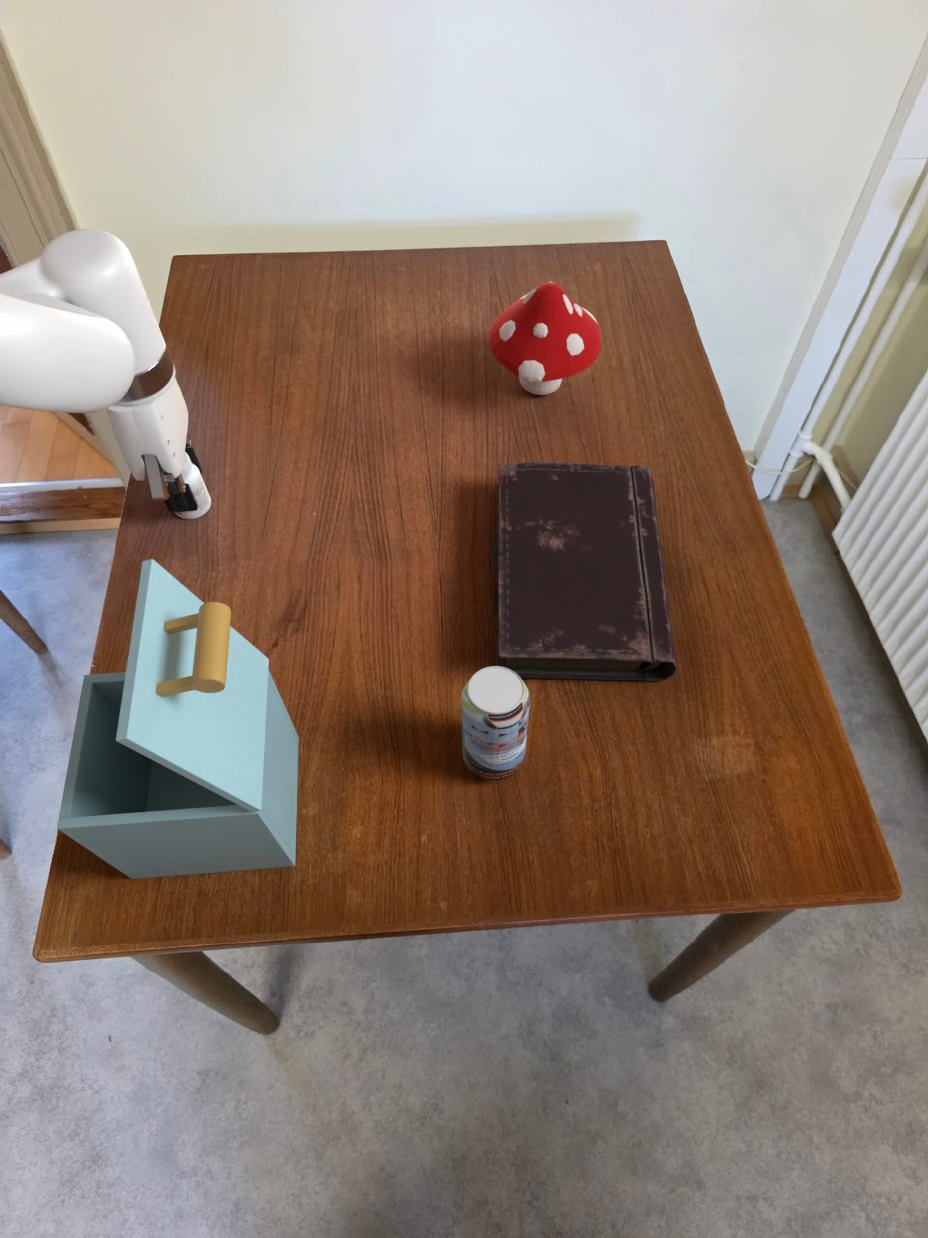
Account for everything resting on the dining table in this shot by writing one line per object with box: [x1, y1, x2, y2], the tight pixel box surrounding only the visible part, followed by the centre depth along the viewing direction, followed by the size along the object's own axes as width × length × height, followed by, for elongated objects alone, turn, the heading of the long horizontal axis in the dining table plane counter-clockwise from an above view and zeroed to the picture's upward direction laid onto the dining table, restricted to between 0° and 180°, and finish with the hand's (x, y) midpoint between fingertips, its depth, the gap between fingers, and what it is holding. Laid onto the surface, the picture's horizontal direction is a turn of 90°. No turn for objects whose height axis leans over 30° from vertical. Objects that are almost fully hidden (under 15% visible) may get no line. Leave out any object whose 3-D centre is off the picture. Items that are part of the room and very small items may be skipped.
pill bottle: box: [164, 452, 212, 520], centre depth 91 cm, size 4×4×8 cm
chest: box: [56, 668, 300, 880], centre depth 69 cm, size 15×13×16 cm
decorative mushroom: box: [487, 280, 602, 396], centre depth 98 cm, size 14×14×15 cm
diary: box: [489, 462, 678, 682], centre depth 87 cm, size 19×25×5 cm
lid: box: [116, 558, 270, 812], centre depth 56 cm, size 15×13×5 cm
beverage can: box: [460, 665, 531, 781], centre depth 74 cm, size 6×7×12 cm
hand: (185, 490), depth 92 cm, fingers closed on pill bottle, 4 cm apart
